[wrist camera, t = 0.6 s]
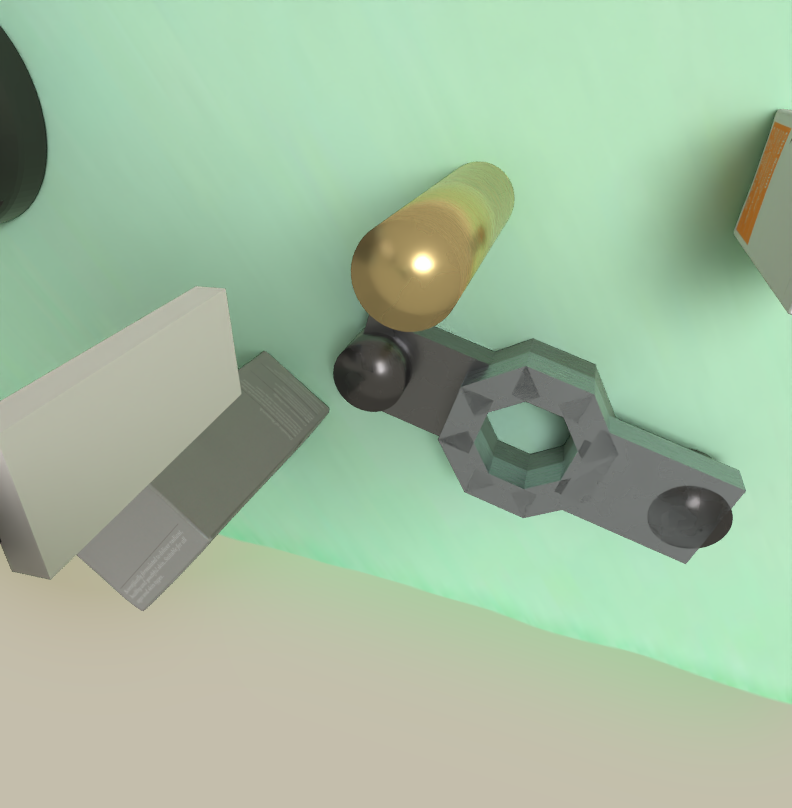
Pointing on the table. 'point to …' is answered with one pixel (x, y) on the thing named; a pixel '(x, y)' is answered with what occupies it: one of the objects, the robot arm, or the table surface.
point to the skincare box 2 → (771, 212)
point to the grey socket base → (551, 469)
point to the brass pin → (431, 248)
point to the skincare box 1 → (205, 484)
